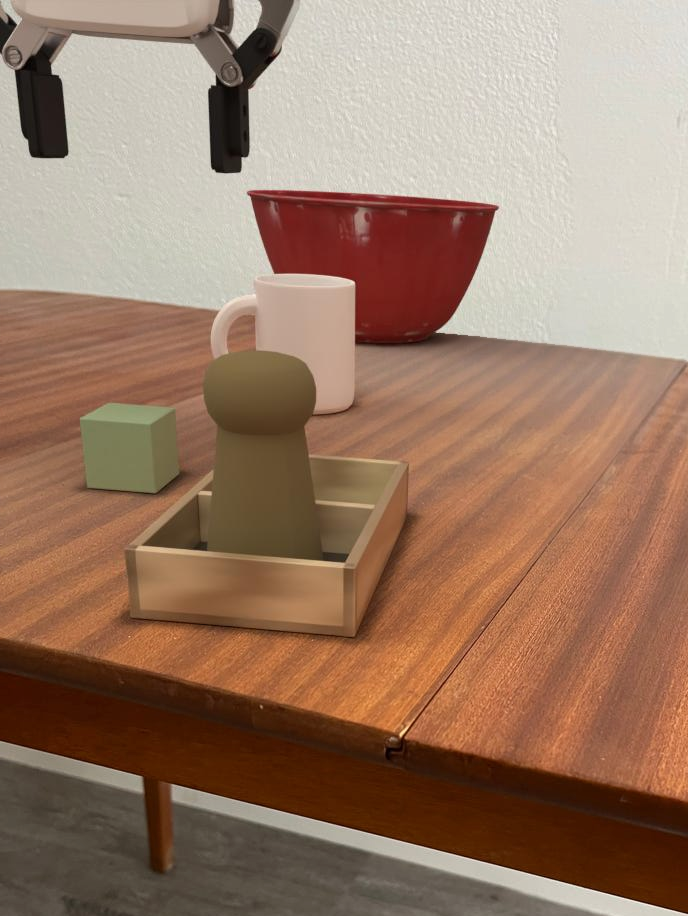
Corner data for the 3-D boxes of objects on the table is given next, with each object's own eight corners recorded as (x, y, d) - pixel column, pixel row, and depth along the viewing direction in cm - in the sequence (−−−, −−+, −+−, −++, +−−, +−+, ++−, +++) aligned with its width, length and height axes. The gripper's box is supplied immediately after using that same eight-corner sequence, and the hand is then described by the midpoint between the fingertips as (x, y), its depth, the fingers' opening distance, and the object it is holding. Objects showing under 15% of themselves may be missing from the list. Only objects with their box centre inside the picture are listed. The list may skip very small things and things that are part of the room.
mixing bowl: (261, 311, 134) (257, 183, 128) (477, 321, 138) (484, 196, 131) (240, 351, 109) (234, 193, 102) (504, 361, 113) (515, 209, 106)
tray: (130, 618, 48) (123, 548, 47) (238, 502, 64) (236, 448, 63) (354, 637, 48) (355, 568, 46) (407, 516, 64) (408, 461, 62)
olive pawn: (194, 559, 53) (181, 342, 49) (308, 549, 56) (306, 341, 51) (216, 604, 48) (203, 367, 44) (340, 591, 51) (341, 365, 46)
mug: (218, 417, 83) (212, 284, 79) (209, 395, 90) (202, 271, 86) (363, 415, 87) (365, 287, 82) (343, 393, 94) (343, 274, 89)
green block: (86, 488, 65) (78, 418, 63) (114, 468, 69) (108, 402, 67) (156, 494, 65) (150, 423, 63) (180, 474, 69) (175, 407, 67)
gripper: (-121, -287, 44) (-59, 152, 52) (273, -263, 43) (279, 180, 51) (-28, -229, 51) (15, 152, 58) (315, -207, 50) (314, 177, 57)
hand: (138, 165), depth 54 cm, fingers open, 9 cm apart
